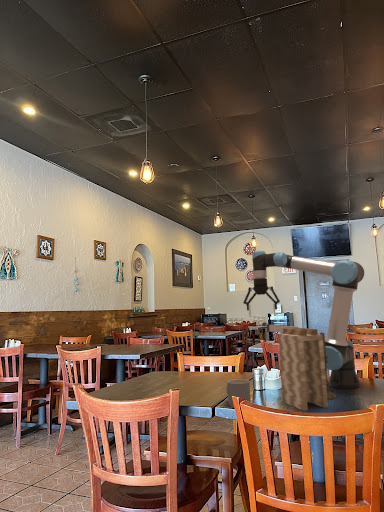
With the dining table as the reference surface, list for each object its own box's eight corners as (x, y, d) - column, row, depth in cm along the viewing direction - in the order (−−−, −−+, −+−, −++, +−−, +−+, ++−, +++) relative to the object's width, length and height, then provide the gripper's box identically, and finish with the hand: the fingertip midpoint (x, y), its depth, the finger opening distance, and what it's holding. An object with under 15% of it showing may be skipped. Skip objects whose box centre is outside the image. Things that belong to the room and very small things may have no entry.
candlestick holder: (320, 393, 187) (316, 330, 191) (339, 396, 181) (334, 330, 185) (313, 397, 180) (308, 331, 184) (333, 400, 174) (327, 332, 178)
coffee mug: (254, 405, 170) (253, 382, 171) (234, 408, 167) (232, 384, 168) (241, 399, 183) (239, 377, 184) (221, 401, 179) (220, 379, 181)
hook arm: (267, 331, 197) (266, 324, 197) (273, 331, 198) (272, 324, 198) (292, 334, 175) (292, 326, 175) (299, 334, 176) (298, 326, 177)
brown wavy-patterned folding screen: (282, 401, 175) (278, 328, 179) (305, 398, 179) (300, 327, 183) (303, 410, 160) (298, 330, 164) (328, 407, 164) (322, 329, 167)
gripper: (282, 277, 222) (284, 315, 220) (238, 279, 227) (240, 316, 225) (282, 276, 215) (285, 315, 213) (237, 279, 220) (239, 317, 217)
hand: (262, 316), depth 219 cm, fingers open, 13 cm apart
